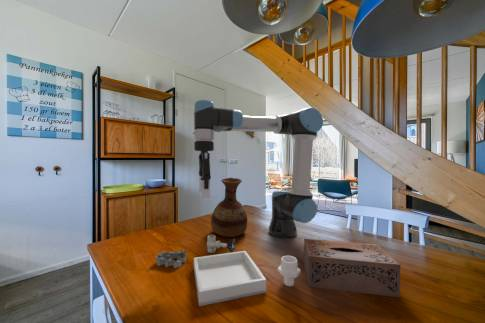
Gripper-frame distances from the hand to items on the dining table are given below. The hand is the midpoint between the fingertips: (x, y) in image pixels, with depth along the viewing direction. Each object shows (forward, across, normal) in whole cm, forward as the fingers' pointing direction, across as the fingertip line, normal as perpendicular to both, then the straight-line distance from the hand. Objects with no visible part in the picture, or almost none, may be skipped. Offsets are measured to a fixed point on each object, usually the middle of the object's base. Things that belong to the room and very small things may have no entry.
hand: (204, 194), depth 81 cm
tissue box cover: (+27, +26, +45) cm, 58 cm away
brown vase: (+26, -26, +16) cm, 40 cm away
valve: (+26, -5, +7) cm, 28 cm away
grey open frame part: (+26, -1, -12) cm, 29 cm away
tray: (+26, +15, +6) cm, 31 cm away
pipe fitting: (+26, +23, +25) cm, 43 cm away
